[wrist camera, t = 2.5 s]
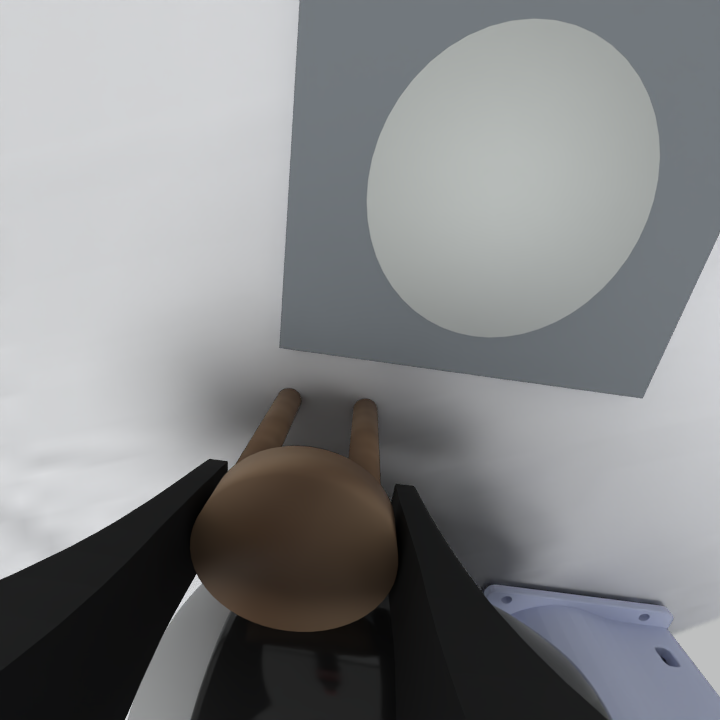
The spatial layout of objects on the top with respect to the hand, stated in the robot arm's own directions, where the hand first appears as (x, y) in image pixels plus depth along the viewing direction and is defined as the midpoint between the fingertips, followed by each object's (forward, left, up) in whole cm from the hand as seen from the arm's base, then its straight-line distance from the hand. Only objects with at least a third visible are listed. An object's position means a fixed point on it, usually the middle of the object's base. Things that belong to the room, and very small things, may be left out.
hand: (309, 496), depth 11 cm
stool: (0, 0, -4) cm, 4 cm away
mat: (-5, -10, -4) cm, 12 cm away
